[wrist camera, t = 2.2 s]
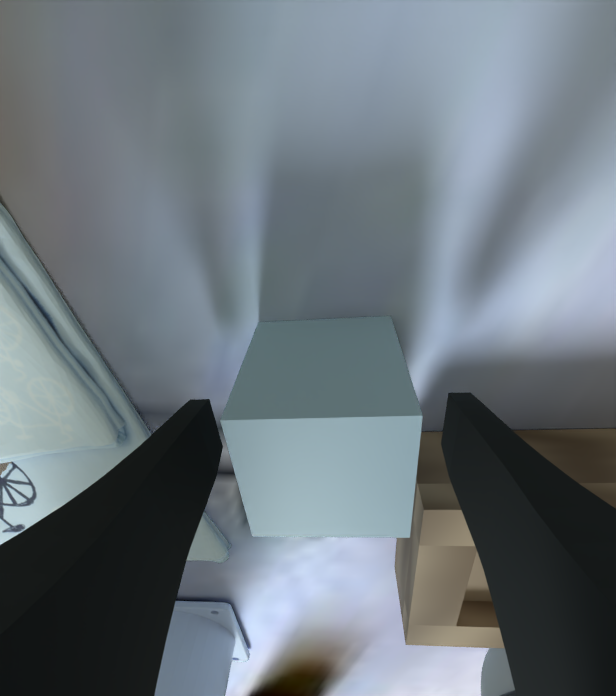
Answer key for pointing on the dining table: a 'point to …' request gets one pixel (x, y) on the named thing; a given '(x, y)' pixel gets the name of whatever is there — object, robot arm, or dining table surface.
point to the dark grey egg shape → (496, 674)
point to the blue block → (325, 430)
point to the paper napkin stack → (58, 402)
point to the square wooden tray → (457, 544)
